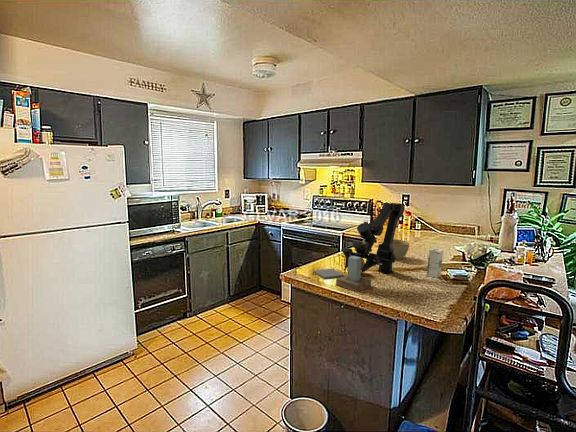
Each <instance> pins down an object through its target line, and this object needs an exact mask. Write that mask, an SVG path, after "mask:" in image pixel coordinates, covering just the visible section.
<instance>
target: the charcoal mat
mask: <svg viewBox="0 0 576 432" xmlns="http://www.w3.org/2000/svg"><path fill="white" fill-rule="evenodd" d="M312 272H313V274H315V275H317V276H318V277H320V278H322V279H323V280H326V279H327V280H328V279H338V278H341V277H343V276H345V274H343V273H342V272H340V271H338V270H336V269H334V268H332V267H331V268H326V269H325V268H324V269H316V270H313V271H312Z"/></svg>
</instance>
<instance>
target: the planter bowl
mask: <svg viewBox="0 0 576 432" xmlns="http://www.w3.org/2000/svg"><path fill="white" fill-rule="evenodd" d="M383 241H384V239H383ZM383 241H382V242H383ZM410 245H411V243H410V242H409V241H407V240H402V239H394V238H393V243H392V246H393V249H394V252H393V253H394V255H395V257H396V260H395V261H399V260H403V259H404V257H405V255H406V254H407V253H408V251H409V248H410Z"/></svg>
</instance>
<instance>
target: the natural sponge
mask: <svg viewBox="0 0 576 432" xmlns="http://www.w3.org/2000/svg"><path fill="white" fill-rule="evenodd" d="M365 263H366V261H365V259H364V258H361V271H362V268H363V266H364V265H365Z"/></svg>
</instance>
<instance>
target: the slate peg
mask: <svg viewBox="0 0 576 432" xmlns="http://www.w3.org/2000/svg"><path fill="white" fill-rule="evenodd" d="M361 271H362V270H361V257H357V256H351V257H348V267H347V275H348V277H347V280H349V281H353V282H358V281H360V277H361V274H362V272H361Z"/></svg>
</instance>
